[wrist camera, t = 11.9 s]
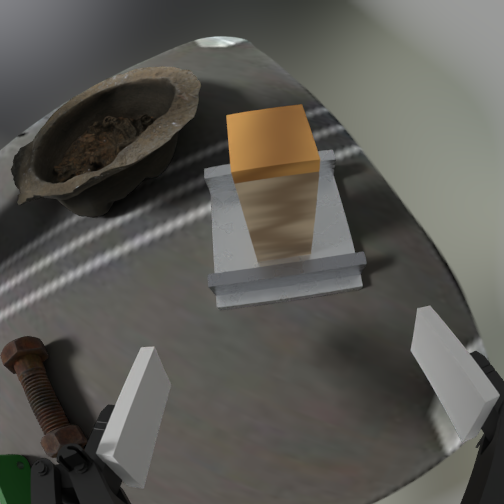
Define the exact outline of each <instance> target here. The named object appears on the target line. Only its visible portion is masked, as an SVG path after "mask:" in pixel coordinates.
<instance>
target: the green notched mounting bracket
mask: <svg viewBox="0 0 504 504" xmlns="http://www.w3.org/2000/svg"><path fill="white" fill-rule="evenodd" d="M17 463H18V465H19V466H18V467H17ZM0 502H1V504H31V468H30V465H29V462H28V461H27V459H26V458H25V457H23V456H21V455H15V454H8V455H0Z"/></svg>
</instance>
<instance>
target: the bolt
mask: <svg viewBox="0 0 504 504" xmlns="http://www.w3.org/2000/svg"><path fill="white" fill-rule="evenodd" d="M0 356H1V359H2V362H3V365H4V366H5V367H6V368H8V369H9V370H10V371H11V372H12V373H13V374H17V376H18V379H19V381H20V382H21V384H22V386H23V389H24V391H25V394H26V396H27V399H28V401H29V404H30V406H31V408H32V410H33V413H34V415H35V416H36V419H37V420H38V422H39V425H41V428H42V431H43V432H44V435H45V436H44V437H42V439H41V445H42V447H43V449H44V451H45V453H46V454H47V455H48V456H50V457H52V458H56V457H57V454H58V451H59V450H60V449H61V448H62V447H63V446H65V445H67V444H70V443H73V444H77V445H79V446H81V447H82V449H83V450H85V449H84V448H83V447H84V445H86V444H87V439H86V437H85V435H84V434H83V432H82V430H81V429H80V427H79V426H77V425H71V424H69V423H70V422H69V421H68V418H66V417H67V416H66V415H65V412H63V411H64V410H63V409H62V406H60V403H59V400H57V399H58V398H57V397H56V394H55V392H54V390H53V388H52V385H51V383H50V382H49V379H48V376H47V374H46V370H45V367H44V365H43V362H44V361H45V360H46V359H47V358H48V357H49V355H48V353H47V350H46V348H45V346H44V344H43V343H42V341H41V340H40V339H39V338H35V337H31V336H25V337H21V338H18V339H15V340H13V341H11V342H9V343H8V344H7V345H6V346H5V347H4V349H3V350H2V353H1V355H0Z"/></svg>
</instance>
